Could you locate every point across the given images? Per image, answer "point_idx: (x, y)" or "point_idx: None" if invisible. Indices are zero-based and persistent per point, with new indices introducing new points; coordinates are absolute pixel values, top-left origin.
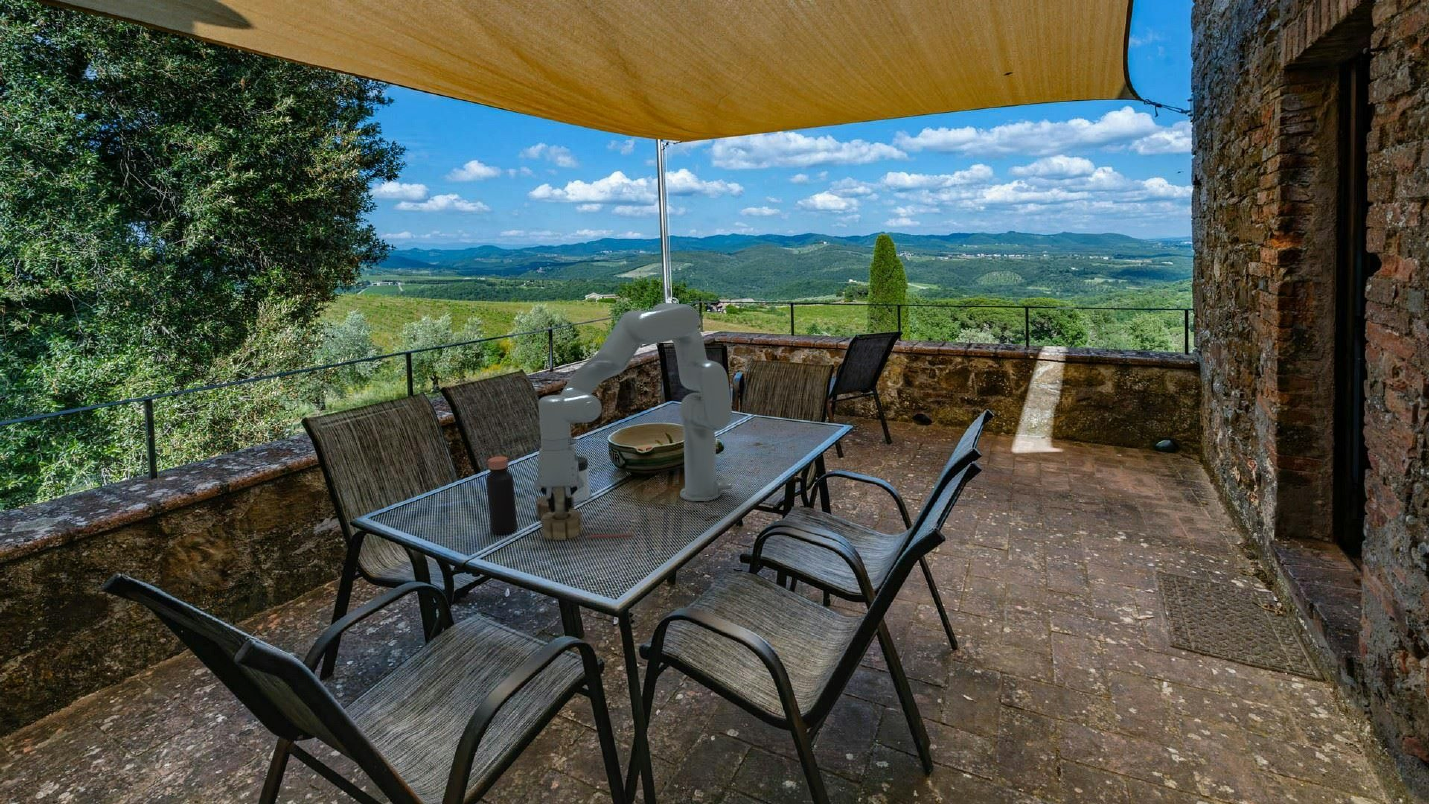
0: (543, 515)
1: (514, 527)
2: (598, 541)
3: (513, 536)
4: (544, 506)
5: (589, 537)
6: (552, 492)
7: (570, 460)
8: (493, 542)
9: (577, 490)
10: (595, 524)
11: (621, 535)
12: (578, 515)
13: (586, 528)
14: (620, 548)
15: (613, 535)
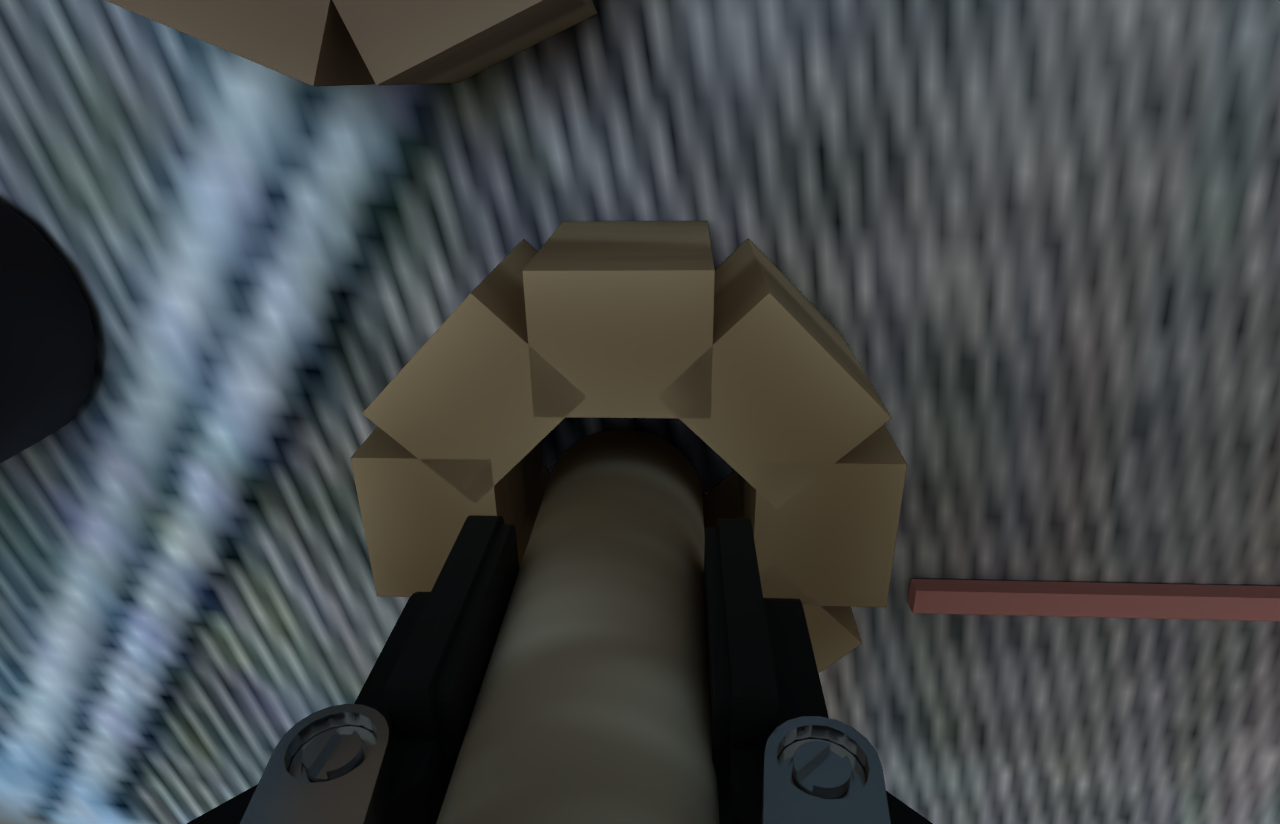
0: (359, 482)
1: (67, 383)
2: (1015, 665)
3: (153, 473)
4: (211, 40)
5: (935, 608)
6: (387, 799)
7: None
8: (37, 575)
9: None
10: (1018, 246)
11: (1273, 619)
12: (864, 537)
13: (901, 358)
14: (1193, 798)
15: (1190, 618)
